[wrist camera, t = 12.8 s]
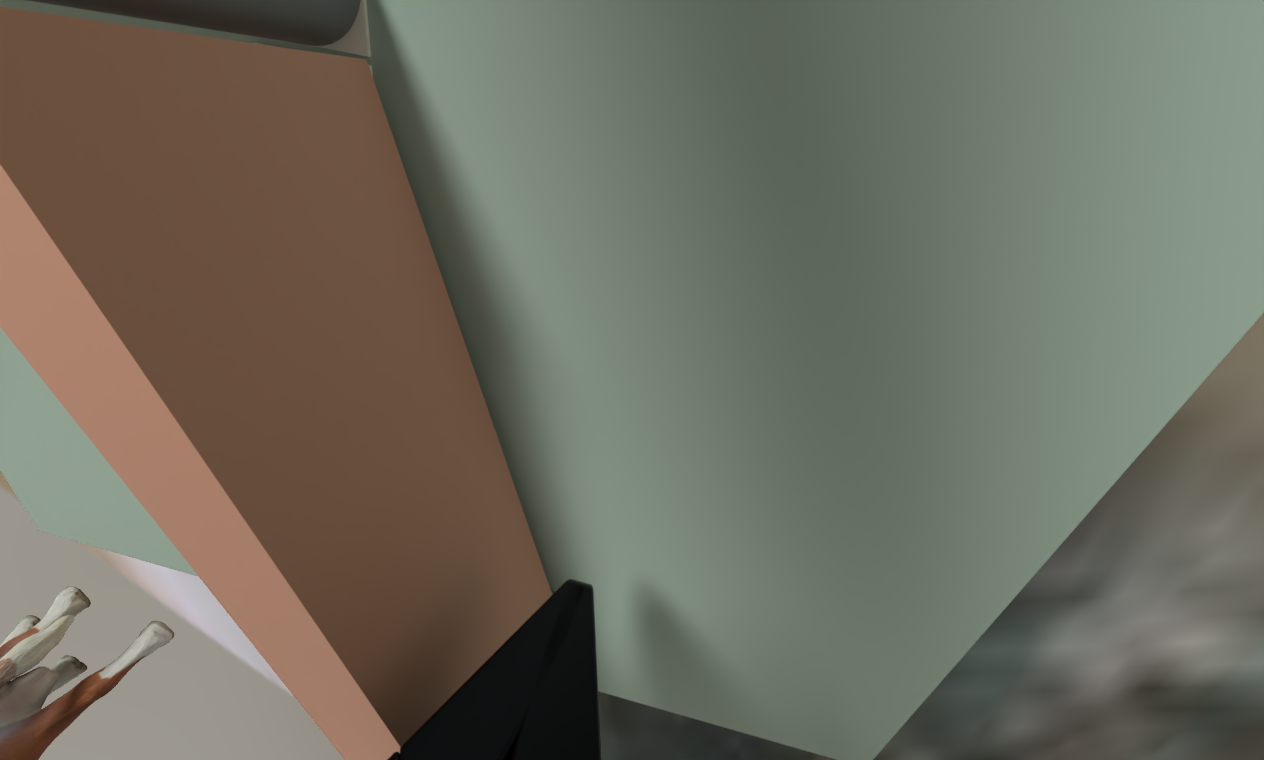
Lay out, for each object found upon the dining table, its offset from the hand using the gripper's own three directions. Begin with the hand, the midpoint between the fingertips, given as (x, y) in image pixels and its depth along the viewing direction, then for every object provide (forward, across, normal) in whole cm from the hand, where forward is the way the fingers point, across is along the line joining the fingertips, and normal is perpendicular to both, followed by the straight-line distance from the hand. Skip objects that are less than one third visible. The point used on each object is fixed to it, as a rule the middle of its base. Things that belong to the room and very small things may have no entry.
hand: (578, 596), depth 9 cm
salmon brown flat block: (+2, +3, -2) cm, 4 cm away
